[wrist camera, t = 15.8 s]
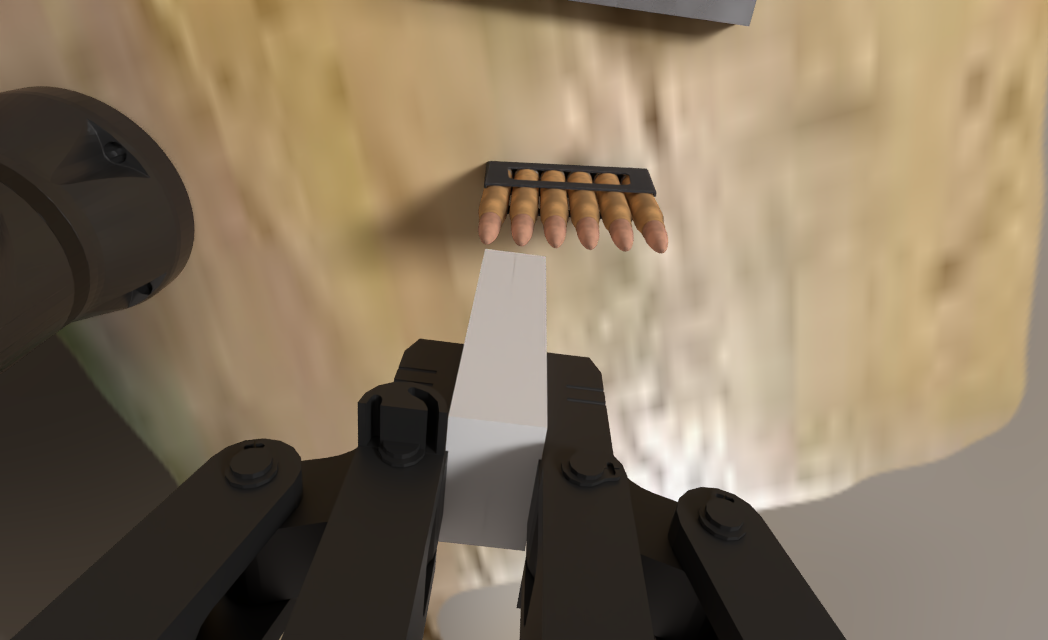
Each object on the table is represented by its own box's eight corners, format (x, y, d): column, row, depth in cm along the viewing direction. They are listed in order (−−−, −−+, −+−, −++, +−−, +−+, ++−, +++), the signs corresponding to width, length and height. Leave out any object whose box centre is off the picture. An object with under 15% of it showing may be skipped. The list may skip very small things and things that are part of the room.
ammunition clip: (486, 188, 41) (467, 258, 30) (487, 160, 40) (466, 223, 30) (644, 196, 41) (678, 269, 30) (648, 168, 40) (685, 234, 30)
